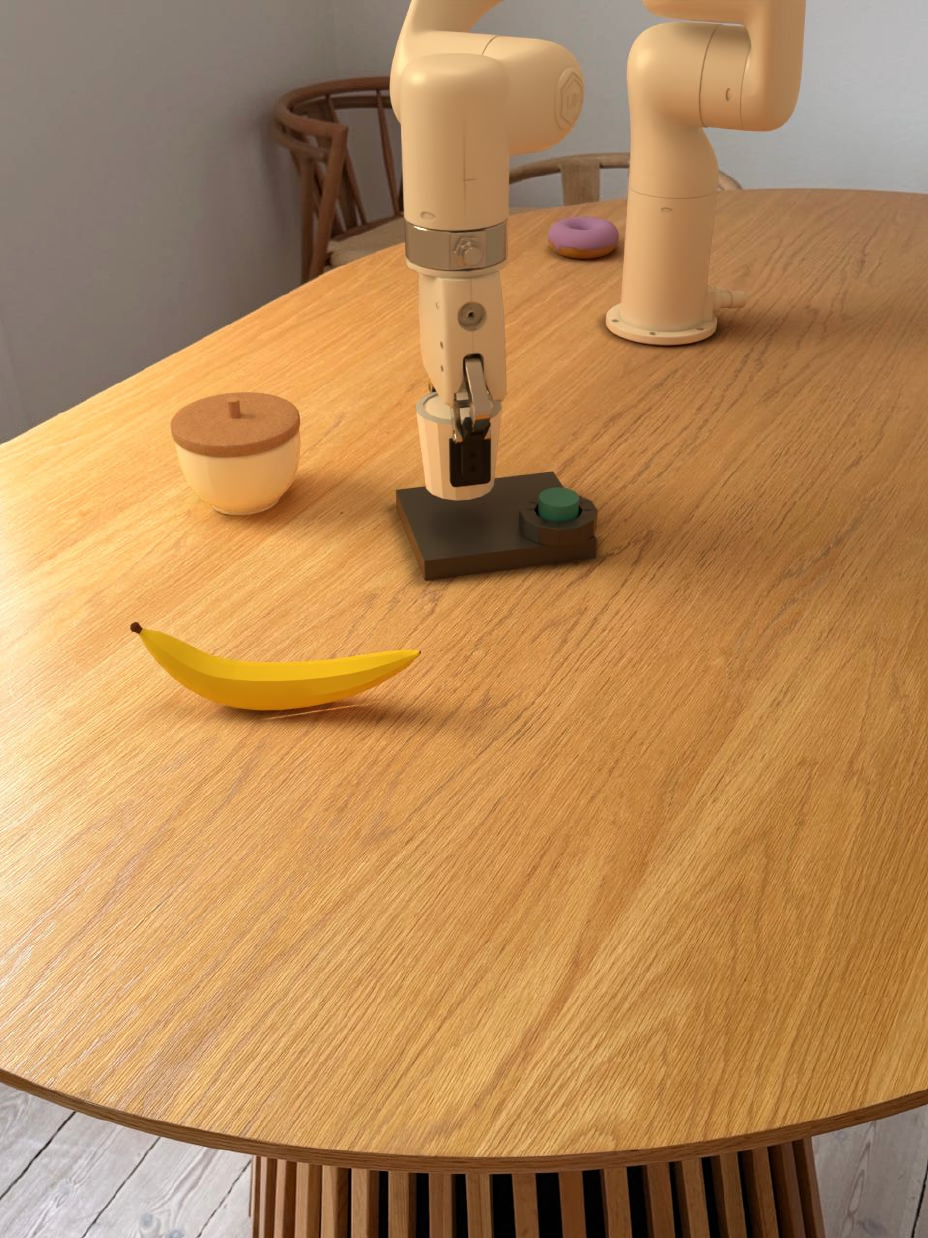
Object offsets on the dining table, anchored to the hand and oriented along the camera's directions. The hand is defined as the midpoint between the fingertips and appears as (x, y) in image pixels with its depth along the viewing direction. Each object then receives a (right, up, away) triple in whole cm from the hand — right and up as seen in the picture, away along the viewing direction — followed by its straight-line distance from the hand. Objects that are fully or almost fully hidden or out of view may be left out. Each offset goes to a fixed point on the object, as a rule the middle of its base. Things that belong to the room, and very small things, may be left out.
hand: (459, 460), depth 98 cm
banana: (-12, -19, -16) cm, 28 cm away
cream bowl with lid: (-19, -2, +8) cm, 21 cm away
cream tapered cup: (0, -2, +1) cm, 2 cm away
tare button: (+8, -4, -1) cm, 9 cm away
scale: (+3, -6, +3) cm, 7 cm away
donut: (+16, +36, +65) cm, 76 cm away
